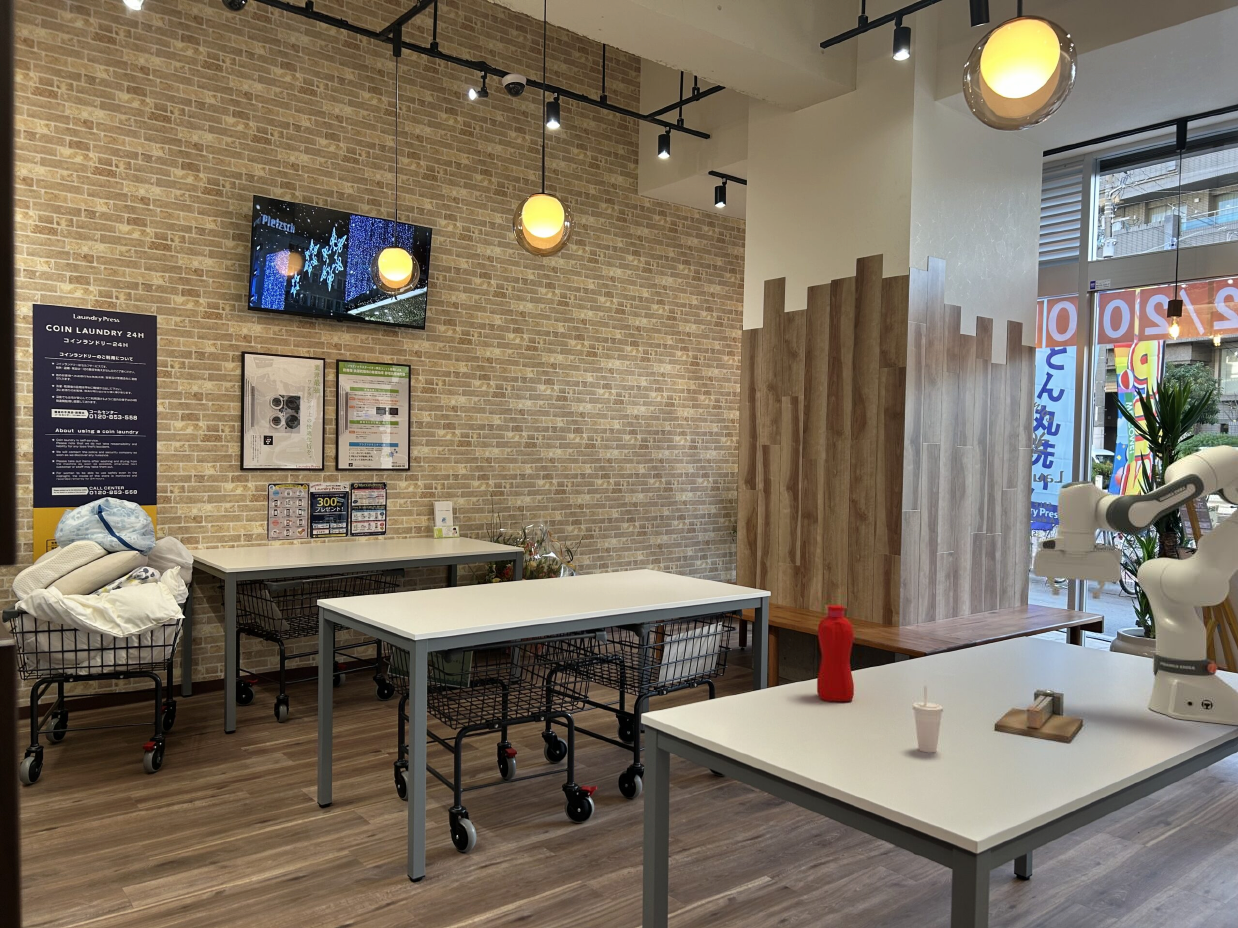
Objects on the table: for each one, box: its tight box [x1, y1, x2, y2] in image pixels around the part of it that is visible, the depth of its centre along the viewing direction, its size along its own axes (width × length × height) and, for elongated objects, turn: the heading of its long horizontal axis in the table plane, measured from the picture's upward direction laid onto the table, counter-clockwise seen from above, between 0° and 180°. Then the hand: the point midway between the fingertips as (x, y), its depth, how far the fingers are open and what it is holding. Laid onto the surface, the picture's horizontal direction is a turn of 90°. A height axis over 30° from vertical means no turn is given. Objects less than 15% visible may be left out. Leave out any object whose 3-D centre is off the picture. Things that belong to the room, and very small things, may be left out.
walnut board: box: [994, 707, 1084, 744], centre depth 212 cm, size 16×18×2 cm
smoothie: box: [912, 685, 944, 753], centre depth 194 cm, size 6×6×14 cm
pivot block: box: [1033, 689, 1065, 716], centre depth 221 cm, size 6×4×7 cm, turn 54°
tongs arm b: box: [1026, 695, 1046, 727], centre depth 212 cm, size 16×1×4 cm, turn 144°
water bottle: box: [816, 604, 855, 703], centre depth 238 cm, size 9×11×25 cm
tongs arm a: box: [1033, 697, 1053, 728], centre depth 212 cm, size 16×1×4 cm, turn 143°
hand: (1075, 596), depth 229 cm, fingers open, 8 cm apart
